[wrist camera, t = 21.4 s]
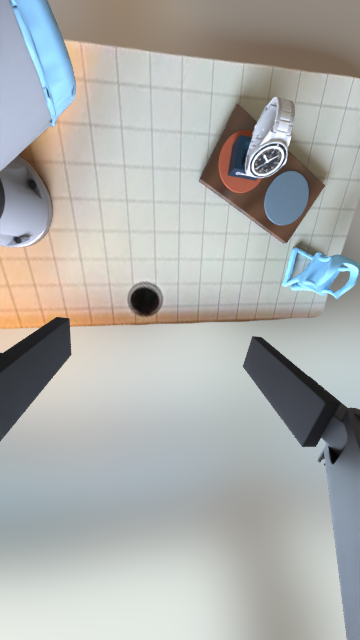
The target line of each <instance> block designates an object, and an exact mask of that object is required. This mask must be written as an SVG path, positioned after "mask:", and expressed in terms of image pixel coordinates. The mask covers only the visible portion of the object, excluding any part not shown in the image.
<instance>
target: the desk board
mask: <svg viewBox="0 0 360 640" xmlns="http://www.w3.org/2000/svg"><path fill="white" fill-rule="evenodd" d="M256 124H257V121H256V120H255V119H253V118H252V117H251V116H250V115H249V114H248V113H247V112H246V111H245V110H244V109H243V108H242V107H241V106H240V105H239V104H237V105H236V107H235V109H234V111H233V113H232V115H231V117H230V119H229V121H228V123H227V125H226V127H225V129H224V131H223V133H222V135H221V137H220V139H219V141H218V143H217V145H216V147H215V149H214V151H213V153H212V155H211V157H210V159H209V161H208V164H207V166H206V168H205V170H204V172H203V174H202V176H201V178H200V180H199V182H201V183H202V184H203V185H205V186H206V187H208V188H209V189H210V190H212V191H213V192H214V193H216V194H217V195H218V196H220V197H221V198H222V199H224V200H225V201H227V202H228V203H229V204H231V205H232V206H233V207H235V208H236V209H237V210H239V211H240V212H241V213H243V214H244V215H246V216H247V217H248V218H250V219H251V220H252V221H254V222H255V223H256V224H258V225H259V226H260V227H262V228H263V229H264V230H266V231H267V232H269V233H270V234H271V235H273V236H274V237H275V238H277V239H278V240H279V241H281V242H282V243H287V242H288V240H289V239H290V237H291V236H292V234H293V233H294V231H295V230H296V228H297V227H298V225H299V224H300V222H301V221H302V219H303V218H304V216H305V215H306V213H307V212H308V210H309V209H310V207H311V206H312V204H313V203H314V201H315V200H316V198H317V197H318V195H319V194H320V192H321V191H322V189H323V188H324V186H325V185H324V184H323V183H322V182H321V181H320V180H319V179H318V178H317V177H315V176H314V175H313V174H312V173H311V172H310V171H309V170H308V169H307V168H306V167H305V166H304V165H303V164H302V163H300V162H299V161H298V160H297V159H296V158H295V157H294V156H293V155H292V154H291V153H290V152H289V151H287V161H286V163H285V165H283V166H282V167H281V168H280V169H279V170H278V171H277V172H275V173H274V174H272V175H270V176H267V177H264V178H262V179H261V181H260V182H259V184H258V185H257V186H256V187H254V188H253V189H252V190H250V191H248V192H244V193H237V192H234V191H231V190H230V189H229V188H227V187H226V185H225V184H224V183H223V181H222V179H221V177H220V173H219V156H220V152H221V149H222V147H223V145H224V143H225V142H226V141H227V139H228V138H229V137H230V136H231V135H233V134H234V133H236V132H238V131H241V130H249V131H252V132H253V131H254V128H255V125H256ZM287 171H295V172H298V173H300V174H301V175H302V176H303V177H304V178H305V180H306V181H307V184H308V188H309V198H308V202H307V205H306V208H305V210H304V211H303V213H302V214H301V216H300V217H299V218H298V219H297V220H295V221H294V222H292V223H290V224H287V225H277V224H275V223H273V222H272V221H271V220H270V219H269V218H268V216H267V214H266V212H265V207H264V200H265V195H266V192H267V189H268V187H269V185H270V184H271V182H272V181H273V180H274V179H275V178H276V177H277V176H279V175H280V174H282V173H284V172H287Z"/></svg>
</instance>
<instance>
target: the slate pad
mask: <svg viewBox="0 0 360 640" xmlns="http://www.w3.org/2000/svg"><path fill="white" fill-rule="evenodd" d="M308 198H309V188H308V184H307V181H306V180H305V178H304V177H303V176H302V175H301V174H300V173H298V172H295V171H287V172H284V173H282V174H280V175H279V176H277V177H276V178H275V179H274V180H273V181H272V182H271V184H270V185H269V187H268V189H267V192H266V195H265V200H264V207H265V212H266V214H267V216H268V218H269V219H270V220H271V221H272V222H273V223H275V224H277V225H287V224H290V223H292V222H294V221H295V220H297V219H298V218H299V217H300V216H301V214H302V213H303V211H304V210H305V208H306V205H307V202H308Z"/></svg>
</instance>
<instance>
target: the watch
mask: <svg viewBox="0 0 360 640" xmlns="http://www.w3.org/2000/svg"><path fill="white" fill-rule="evenodd" d="M294 115H295V107H294V104H293V102H292V101H290V100H286V99H282V98H278V97H274V98H273V99H272V100H271V101H270V102H269V104H267V105H266V106H265V108H264V110H263V112H262V114H261V116H260V118H259V120H258V122H257V124H256V125H255V128H254V131H253V133H252V134H253V136H252V137H248V136H243V135H240V136H239V137H238V138H237V140H236V141H235V143H234V144H233V145H232V151H231V157H230V163H229V170H228V176H234V177H239V178H244V179H250V180H255V181H256V180H257V179H259V178H264V177H267V176H270V175H272V174H274V173H275V172H277V171H278V170H279V169H280V168H281V167H282V166H283V165H285V163H286V161H287V151H288V147H289V144H290V140H291V137H292V134H291V130H292V125H293V121H294ZM273 125H274V126H273ZM272 127H273V129H272Z"/></svg>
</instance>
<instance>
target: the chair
mask: <svg viewBox="0 0 360 640" xmlns="http://www.w3.org/2000/svg"><path fill="white" fill-rule="evenodd" d="M297 252H298V253H300V254H301V255H303V256H305V257H307V258H309V259H311V260H312V261H311V263H310V264H309V265H308V266H307V268H306V269H305V270H304V271H303V272H302V273H301V274H299V275H298V276H296V277H294V278H292V279H291V276H292V272H293V267H294V263H295V259H296V254H297ZM342 264H344V265H346V266H347V267H343V265H342ZM340 271H350V279H349V281H348V282H347V284H346V285H345V286H344V287H342V288H341V289H340V290H338V291H337V292H334V291H332V290H330V289H329V287H330V286H331V284H332V282H333V281H334V279H335V278H336V276H337V275H338V274H339V272H340ZM359 272H360V265H359V264H358V263H357V262H356V261H354V260H352V259H349V258H347V257H344V256H341V255H334V256H330V257H327V256H325V255H324V254H322V253H316V254H315V256H312V255H310V254H309V253H307V252H305V251H303V250H301V249H299V248H293V250H292V252H291V255H290V259H289V263H288V267H287V271H286V275H285V278H284V281H283V284H282V285H283V286H289V285H291V284H293V283H294V284H293V285H292V286H291V290H312V291H314V292H316V293H318V294H320V295H325V294H326V293H329V294H331V295H333V296H334V297H335V298H339V297H340V296H341V295H342V294H343V293H345V292H346V291H348V290H349V289H351V288H352V287H353V286H354V285H355V284H356V282H357V280H358V276H359Z"/></svg>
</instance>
